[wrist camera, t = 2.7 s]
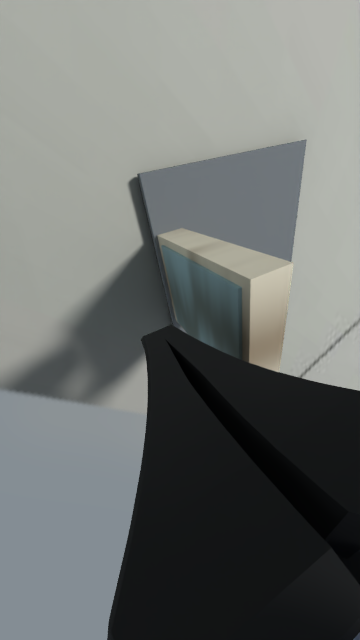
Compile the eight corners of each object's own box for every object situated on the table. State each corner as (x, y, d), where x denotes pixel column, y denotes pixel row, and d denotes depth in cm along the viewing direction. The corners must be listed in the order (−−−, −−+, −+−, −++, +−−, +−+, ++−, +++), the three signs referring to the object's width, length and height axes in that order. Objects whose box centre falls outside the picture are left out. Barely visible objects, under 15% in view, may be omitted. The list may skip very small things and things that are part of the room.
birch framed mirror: (195, 312, 16) (277, 388, 10) (174, 320, 16) (245, 405, 10) (182, 228, 13) (293, 262, 7) (154, 235, 12) (246, 280, 6)
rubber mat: (282, 302, 21) (285, 303, 20) (178, 348, 18) (180, 351, 17) (301, 140, 14) (306, 139, 14) (137, 174, 11) (139, 173, 11)
